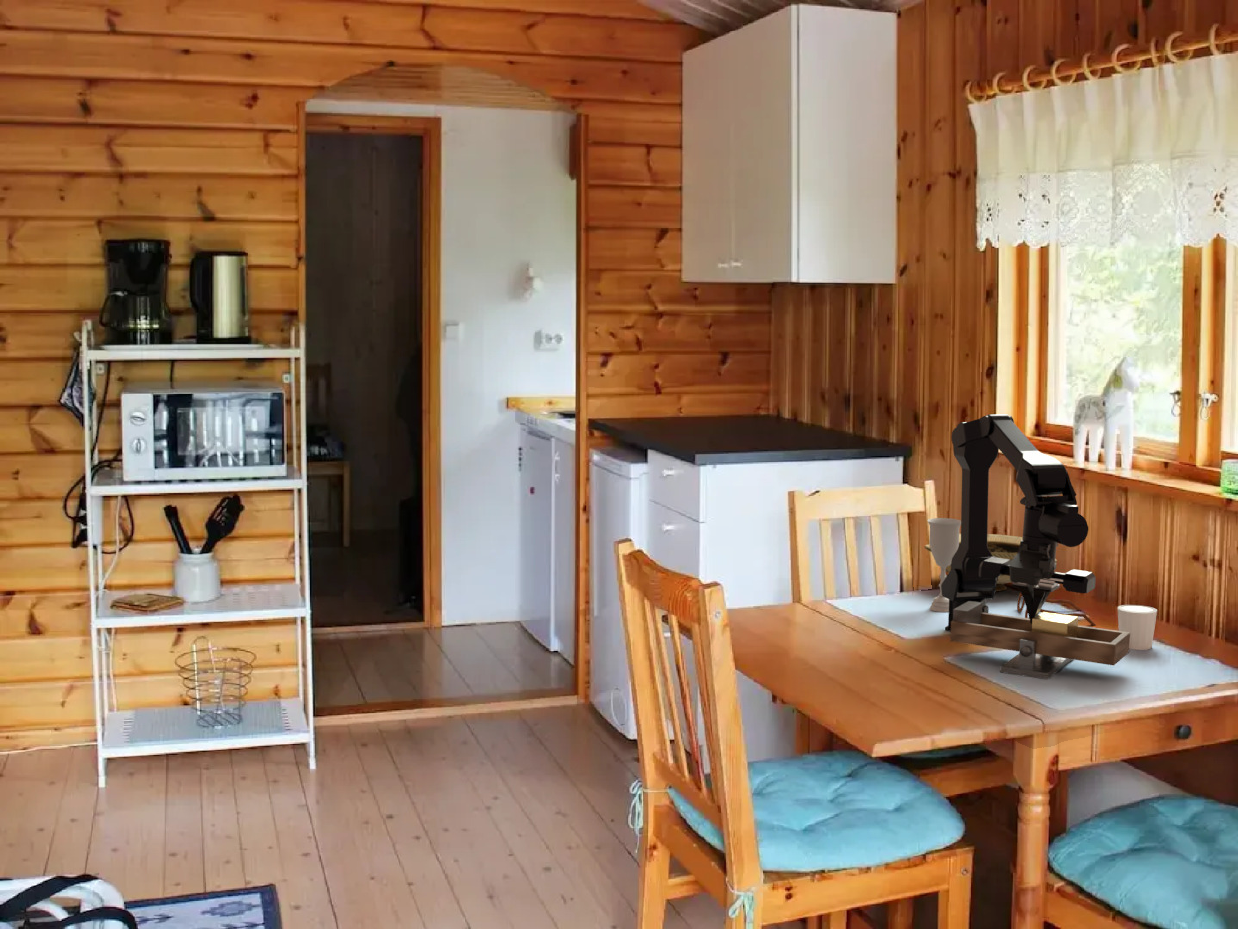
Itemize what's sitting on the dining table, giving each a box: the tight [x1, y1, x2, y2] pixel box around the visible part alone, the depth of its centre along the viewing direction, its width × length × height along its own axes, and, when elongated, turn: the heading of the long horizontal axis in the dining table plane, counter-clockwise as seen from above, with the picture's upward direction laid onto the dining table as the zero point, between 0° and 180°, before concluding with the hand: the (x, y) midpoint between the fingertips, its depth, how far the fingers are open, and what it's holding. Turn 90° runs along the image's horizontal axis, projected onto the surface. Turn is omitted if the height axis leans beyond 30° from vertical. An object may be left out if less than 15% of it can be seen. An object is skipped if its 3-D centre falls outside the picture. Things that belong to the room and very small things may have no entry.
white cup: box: [1117, 604, 1158, 651], centre depth 266 cm, size 7×7×7 cm
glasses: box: [1016, 591, 1097, 626], centre depth 289 cm, size 13×13×5 cm
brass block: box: [1032, 612, 1079, 638], centre depth 251 cm, size 6×6×4 cm
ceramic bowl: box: [924, 533, 1058, 592], centre depth 315 cm, size 30×24×10 cm
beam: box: [949, 601, 1130, 666], centre depth 253 cm, size 28×10×6 cm, turn 58°
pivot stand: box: [999, 638, 1073, 680], centre depth 253 cm, size 8×16×6 cm, turn 148°
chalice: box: [927, 517, 961, 613], centre depth 294 cm, size 7×7×18 cm
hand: (1032, 623), depth 253 cm, fingers closed
